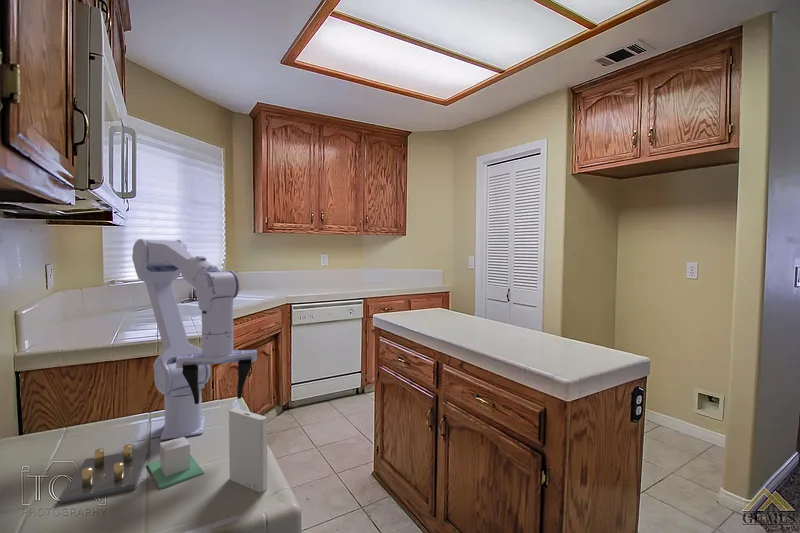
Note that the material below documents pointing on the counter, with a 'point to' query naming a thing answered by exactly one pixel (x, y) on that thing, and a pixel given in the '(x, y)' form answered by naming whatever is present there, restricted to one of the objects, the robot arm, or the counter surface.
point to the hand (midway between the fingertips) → (218, 399)
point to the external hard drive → (248, 449)
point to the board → (174, 476)
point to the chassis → (106, 475)
